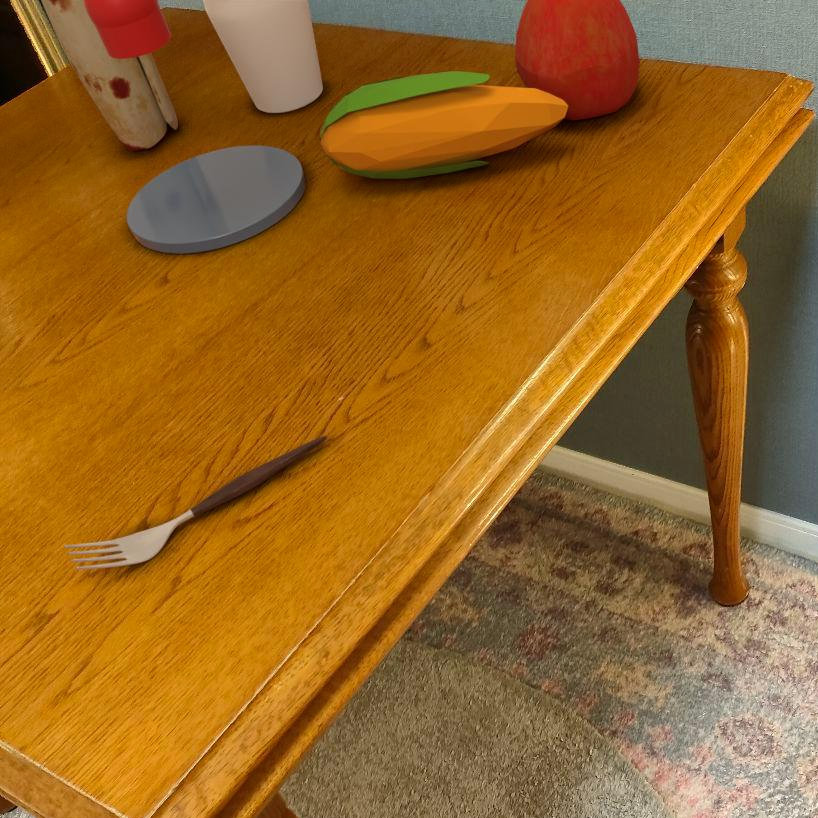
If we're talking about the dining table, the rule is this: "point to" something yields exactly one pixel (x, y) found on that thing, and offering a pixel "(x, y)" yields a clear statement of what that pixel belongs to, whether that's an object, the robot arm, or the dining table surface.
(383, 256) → the dining table surface
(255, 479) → the fork
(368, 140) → the corn
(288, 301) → the dining table surface
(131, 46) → the strawberry fork
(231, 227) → the plate
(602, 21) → the apple
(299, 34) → the cup
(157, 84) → the food model
